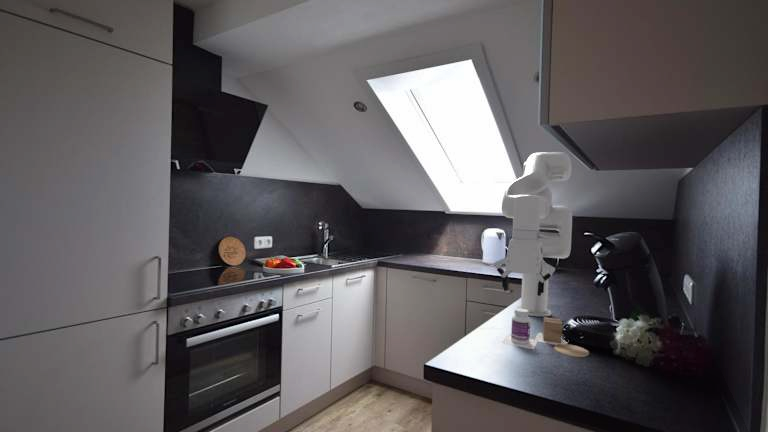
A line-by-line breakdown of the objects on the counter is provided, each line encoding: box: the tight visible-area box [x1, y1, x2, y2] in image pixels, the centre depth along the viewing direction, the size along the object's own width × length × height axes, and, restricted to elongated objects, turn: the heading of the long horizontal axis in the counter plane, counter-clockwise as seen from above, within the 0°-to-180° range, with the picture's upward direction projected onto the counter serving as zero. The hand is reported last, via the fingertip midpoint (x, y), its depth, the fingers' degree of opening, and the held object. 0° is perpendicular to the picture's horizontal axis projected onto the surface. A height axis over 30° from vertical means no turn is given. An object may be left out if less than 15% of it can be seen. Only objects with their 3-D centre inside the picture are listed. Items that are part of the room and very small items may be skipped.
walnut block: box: [542, 316, 563, 343], centre depth 120 cm, size 5×5×6 cm
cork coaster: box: [553, 343, 590, 358], centre depth 112 cm, size 9×9×1 cm
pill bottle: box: [510, 307, 531, 344], centre depth 117 cm, size 5×5×10 cm
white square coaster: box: [501, 334, 539, 350], centre depth 118 cm, size 9×9×1 cm
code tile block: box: [534, 332, 569, 346], centre depth 121 cm, size 9×9×1 cm
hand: (522, 292), depth 117 cm, fingers open, 9 cm apart
